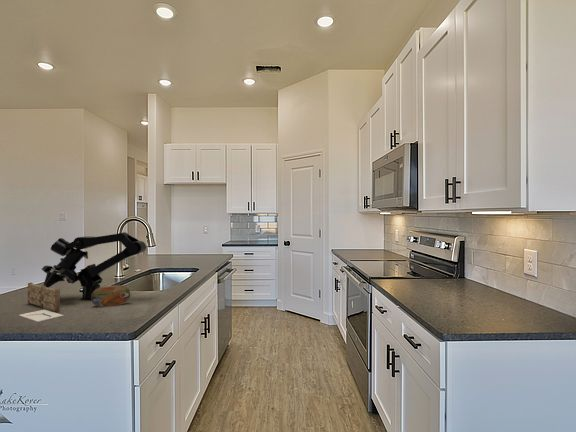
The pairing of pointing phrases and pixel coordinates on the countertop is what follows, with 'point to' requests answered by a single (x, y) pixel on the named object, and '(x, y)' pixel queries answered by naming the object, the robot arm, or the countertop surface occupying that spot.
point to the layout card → (40, 315)
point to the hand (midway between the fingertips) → (43, 289)
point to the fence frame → (50, 298)
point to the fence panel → (34, 294)
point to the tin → (110, 296)
